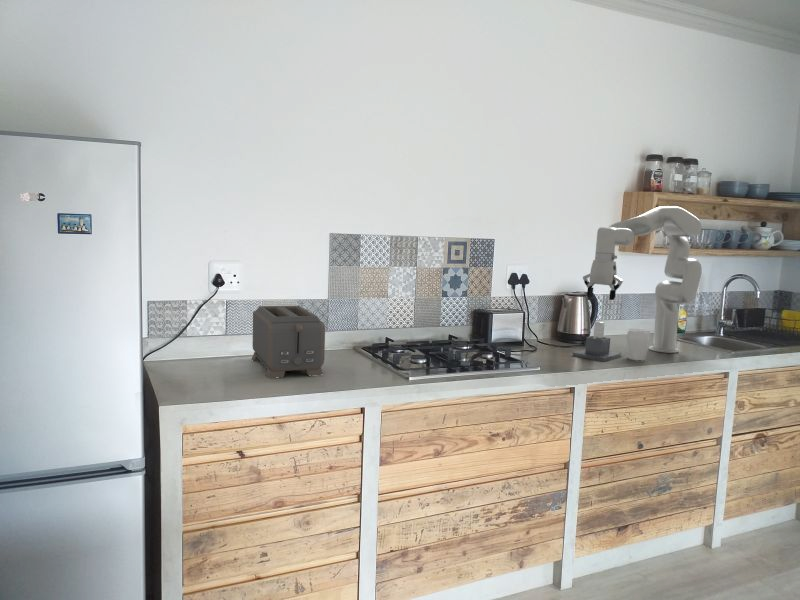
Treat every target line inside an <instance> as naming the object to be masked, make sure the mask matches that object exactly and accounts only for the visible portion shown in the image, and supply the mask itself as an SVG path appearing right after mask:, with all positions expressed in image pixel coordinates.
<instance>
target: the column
mask: <svg viewBox="0 0 800 600" xmlns="http://www.w3.org/2000/svg"><path fill="white" fill-rule="evenodd" d="M593 325H594V326H593V336H597V339H603V337H605V336H604V334H605V322H604V321H594V324H593Z"/></svg>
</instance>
